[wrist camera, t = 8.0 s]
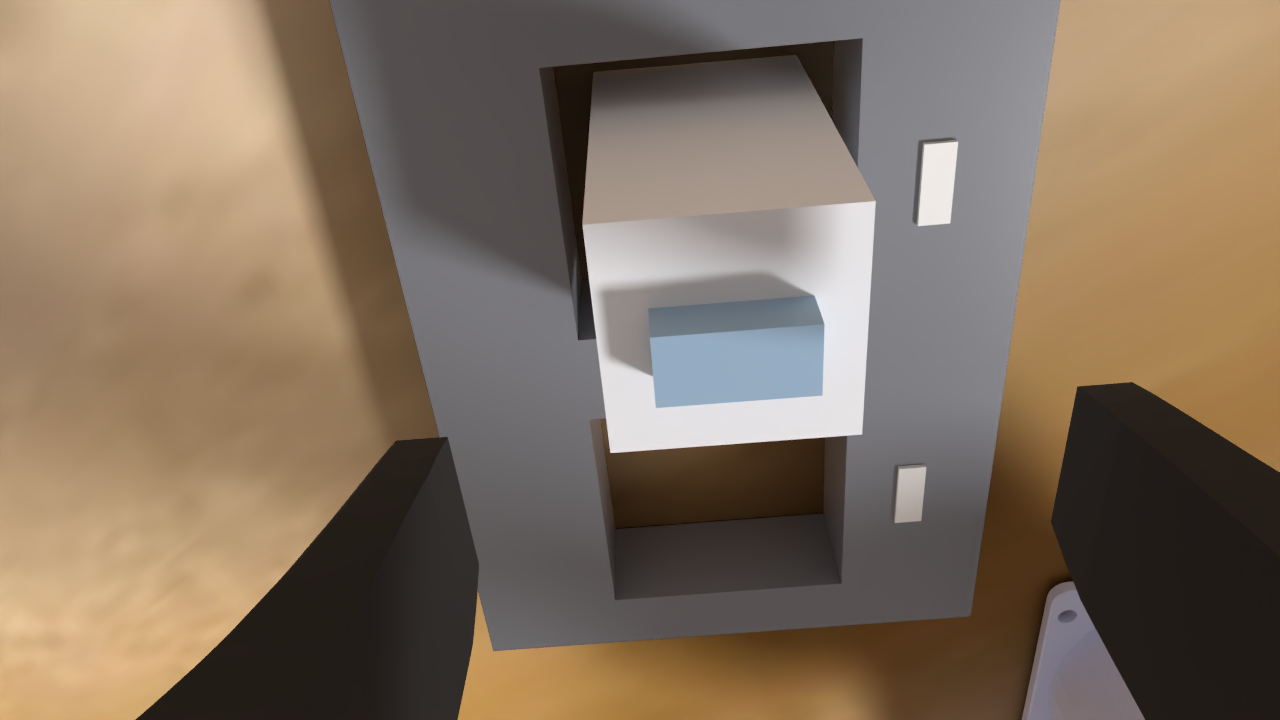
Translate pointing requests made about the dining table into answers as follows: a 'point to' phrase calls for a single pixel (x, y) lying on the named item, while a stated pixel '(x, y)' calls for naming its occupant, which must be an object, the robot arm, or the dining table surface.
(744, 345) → the plug
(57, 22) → the dining table surface
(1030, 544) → the dining table surface
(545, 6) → the port panel
